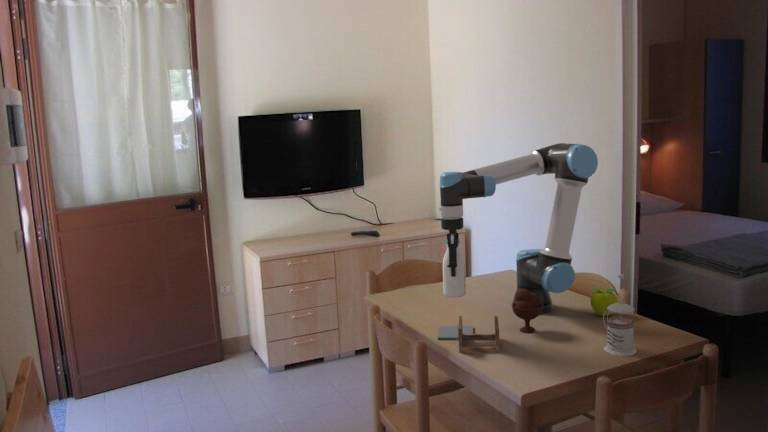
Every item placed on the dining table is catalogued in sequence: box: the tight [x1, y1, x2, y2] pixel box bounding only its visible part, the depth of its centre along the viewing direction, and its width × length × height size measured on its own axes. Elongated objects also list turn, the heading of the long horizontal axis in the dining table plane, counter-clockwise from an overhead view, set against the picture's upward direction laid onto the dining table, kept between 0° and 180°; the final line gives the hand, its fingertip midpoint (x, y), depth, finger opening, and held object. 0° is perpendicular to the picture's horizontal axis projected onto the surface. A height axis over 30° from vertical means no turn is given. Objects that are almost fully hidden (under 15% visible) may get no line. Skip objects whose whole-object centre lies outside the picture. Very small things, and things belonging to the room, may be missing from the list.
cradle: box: [457, 315, 500, 354], centre depth 212 cm, size 13×13×8 cm
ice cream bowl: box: [510, 289, 543, 334], centre depth 222 cm, size 11×11×15 cm
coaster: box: [437, 325, 474, 341], centre depth 224 cm, size 12×12×1 cm
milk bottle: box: [442, 238, 467, 298], centre depth 220 cm, size 8×8×20 cm
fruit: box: [590, 288, 618, 317], centre depth 235 cm, size 9×9×10 cm
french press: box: [602, 273, 637, 357], centre depth 201 cm, size 10×12×25 cm
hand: (454, 281), depth 221 cm, fingers closed on milk bottle, 8 cm apart
